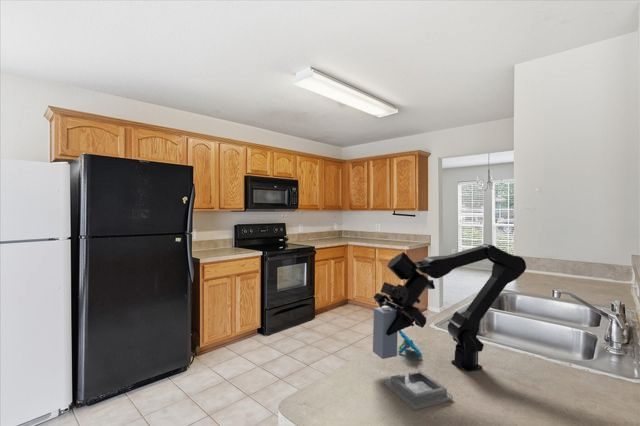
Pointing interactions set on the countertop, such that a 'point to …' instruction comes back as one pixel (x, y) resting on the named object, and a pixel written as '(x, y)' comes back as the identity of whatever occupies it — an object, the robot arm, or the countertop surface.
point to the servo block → (384, 332)
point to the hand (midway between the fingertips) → (381, 331)
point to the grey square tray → (418, 390)
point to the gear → (408, 344)
